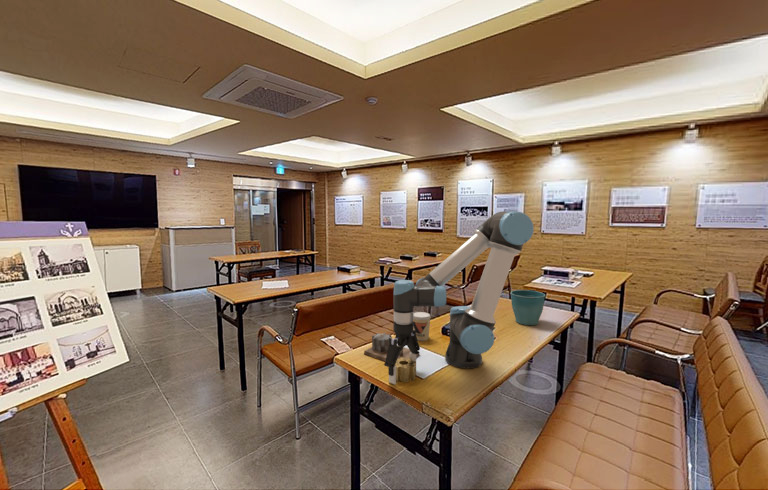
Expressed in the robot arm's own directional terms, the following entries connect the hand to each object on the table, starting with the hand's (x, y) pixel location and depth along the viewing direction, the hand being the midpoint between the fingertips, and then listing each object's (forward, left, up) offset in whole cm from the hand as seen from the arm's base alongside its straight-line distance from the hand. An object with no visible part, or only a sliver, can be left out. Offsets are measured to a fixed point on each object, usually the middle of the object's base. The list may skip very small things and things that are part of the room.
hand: (403, 376), depth 125 cm
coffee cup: (+16, -38, 0) cm, 41 cm away
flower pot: (-19, -96, 0) cm, 98 cm away
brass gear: (0, 0, 0) cm, 0 cm away
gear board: (+15, -13, 0) cm, 20 cm away
